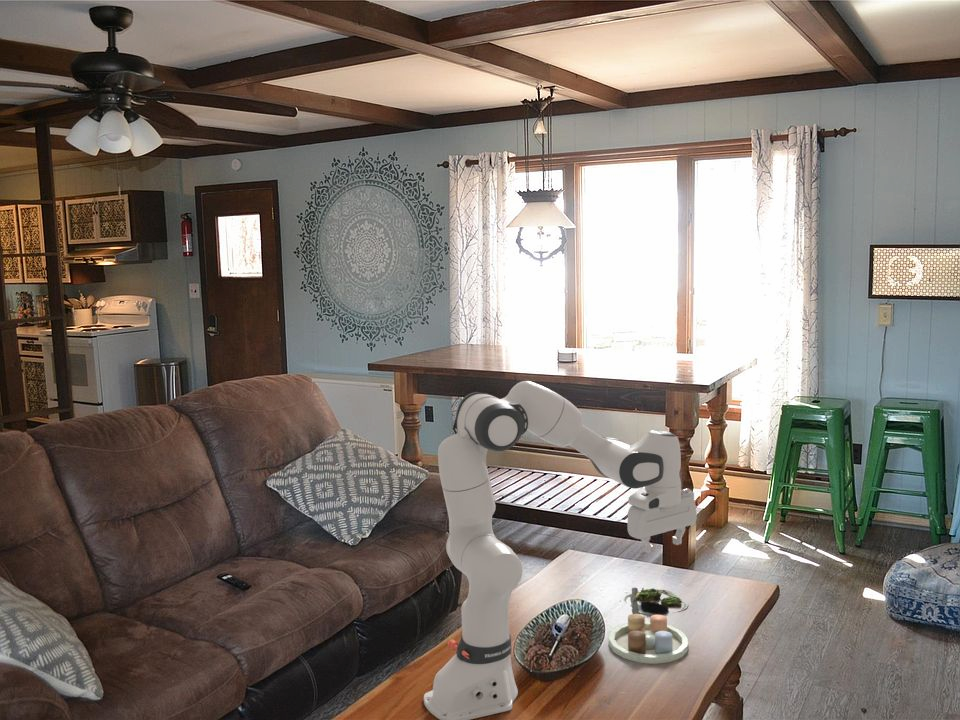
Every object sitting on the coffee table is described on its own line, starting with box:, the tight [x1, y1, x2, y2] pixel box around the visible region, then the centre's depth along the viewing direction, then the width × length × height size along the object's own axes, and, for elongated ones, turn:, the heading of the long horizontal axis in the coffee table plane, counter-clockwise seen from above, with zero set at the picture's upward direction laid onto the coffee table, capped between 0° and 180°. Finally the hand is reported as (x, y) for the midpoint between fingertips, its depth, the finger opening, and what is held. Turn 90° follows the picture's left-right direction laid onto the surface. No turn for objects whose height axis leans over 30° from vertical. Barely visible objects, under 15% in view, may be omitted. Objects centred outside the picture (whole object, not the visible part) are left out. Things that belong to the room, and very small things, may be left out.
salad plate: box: [623, 587, 689, 617], centre depth 247 cm, size 19×18×5 cm
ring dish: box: [608, 621, 689, 665], centre depth 220 cm, size 20×20×4 cm
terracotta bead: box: [649, 615, 668, 632], centre depth 224 cm, size 4×4×5 cm
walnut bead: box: [628, 631, 646, 654], centre depth 216 cm, size 4×4×5 cm
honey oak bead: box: [627, 613, 646, 633], centre depth 225 cm, size 4×4×5 cm
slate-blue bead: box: [655, 631, 673, 655], centre depth 215 cm, size 4×4×5 cm
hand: (663, 547), depth 212 cm, fingers open, 8 cm apart
